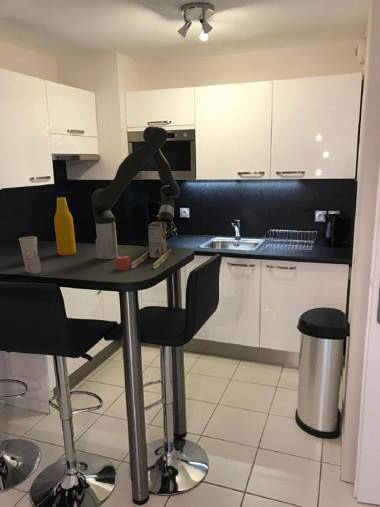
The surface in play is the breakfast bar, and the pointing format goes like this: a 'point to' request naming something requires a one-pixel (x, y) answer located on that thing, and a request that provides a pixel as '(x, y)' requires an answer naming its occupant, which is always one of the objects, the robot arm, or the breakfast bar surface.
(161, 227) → the coffee box
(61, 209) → the beer bottle
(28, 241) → the cup
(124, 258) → the red die
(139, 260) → the game track
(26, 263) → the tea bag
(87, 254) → the breakfast bar surface
